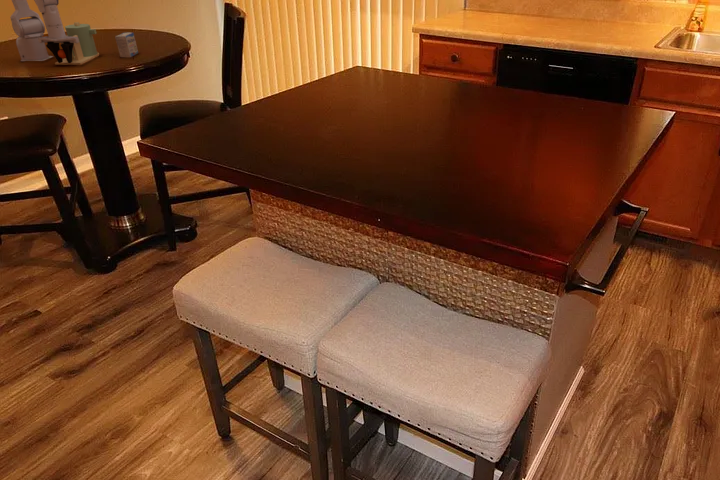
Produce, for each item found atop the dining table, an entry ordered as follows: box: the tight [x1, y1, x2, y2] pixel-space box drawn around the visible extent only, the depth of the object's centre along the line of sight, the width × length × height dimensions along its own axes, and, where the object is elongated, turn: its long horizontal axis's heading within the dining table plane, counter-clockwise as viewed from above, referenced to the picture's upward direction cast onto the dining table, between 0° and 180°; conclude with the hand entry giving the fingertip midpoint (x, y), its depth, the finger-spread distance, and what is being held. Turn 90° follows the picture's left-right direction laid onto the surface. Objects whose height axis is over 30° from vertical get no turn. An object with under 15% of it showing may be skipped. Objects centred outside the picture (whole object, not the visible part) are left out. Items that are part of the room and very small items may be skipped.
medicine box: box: [114, 31, 139, 58], centre depth 234 cm, size 8×4×9 cm, turn 179°
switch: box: [58, 48, 66, 59], centre depth 221 cm, size 11×3×3 cm, turn 179°
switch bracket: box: [54, 34, 96, 66], centre depth 225 cm, size 12×10×10 cm
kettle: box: [64, 21, 100, 58], centre depth 232 cm, size 12×11×13 cm
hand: (65, 62), depth 221 cm, fingers closed on switch, 3 cm apart
